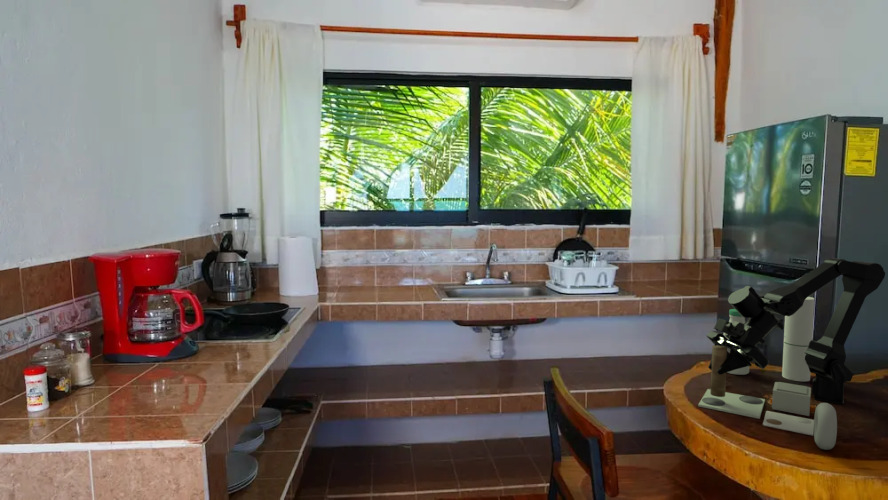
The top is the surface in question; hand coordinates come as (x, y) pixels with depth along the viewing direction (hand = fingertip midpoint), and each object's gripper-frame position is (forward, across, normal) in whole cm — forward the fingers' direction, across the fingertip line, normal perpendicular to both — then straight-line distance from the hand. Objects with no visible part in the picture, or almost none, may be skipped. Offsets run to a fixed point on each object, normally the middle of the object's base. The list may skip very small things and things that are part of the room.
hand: (713, 370), depth 139 cm
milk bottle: (-10, -25, +23) cm, 35 cm away
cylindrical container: (-20, -18, +33) cm, 43 cm away
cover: (-7, +4, +20) cm, 21 cm away
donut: (0, +26, +13) cm, 29 cm away
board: (+3, 0, +10) cm, 10 cm away
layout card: (-1, +13, +14) cm, 20 cm away
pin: (+4, 0, +6) cm, 7 cm away
